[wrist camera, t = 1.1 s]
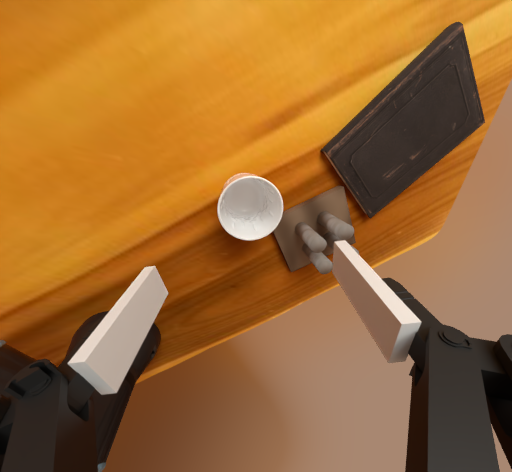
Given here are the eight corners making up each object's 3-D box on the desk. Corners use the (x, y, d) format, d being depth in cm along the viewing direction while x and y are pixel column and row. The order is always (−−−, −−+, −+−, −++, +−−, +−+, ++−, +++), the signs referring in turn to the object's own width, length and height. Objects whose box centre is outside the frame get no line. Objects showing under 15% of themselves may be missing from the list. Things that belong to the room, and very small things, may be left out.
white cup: (271, 174, 31) (290, 183, 22) (261, 219, 34) (274, 243, 24) (222, 164, 29) (222, 169, 20) (216, 212, 32) (213, 236, 23)
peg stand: (289, 268, 39) (305, 296, 31) (267, 219, 34) (280, 238, 26) (350, 239, 38) (382, 261, 31) (338, 185, 33) (373, 195, 26)
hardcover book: (469, 124, 33) (485, 122, 31) (362, 214, 37) (370, 218, 35) (443, 28, 27) (461, 18, 25) (318, 150, 31) (325, 150, 29)
